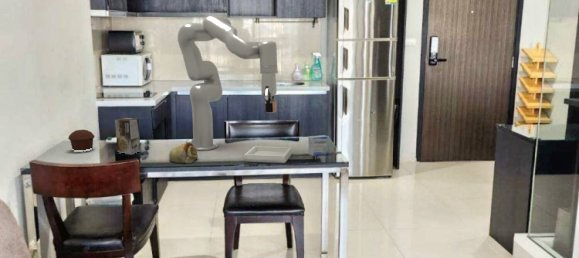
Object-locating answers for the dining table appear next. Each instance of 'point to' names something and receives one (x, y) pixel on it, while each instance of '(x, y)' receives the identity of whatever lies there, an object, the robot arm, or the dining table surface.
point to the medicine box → (318, 145)
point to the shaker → (273, 106)
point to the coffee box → (127, 135)
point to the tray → (268, 154)
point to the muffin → (81, 139)
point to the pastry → (183, 154)
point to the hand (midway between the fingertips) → (270, 111)
